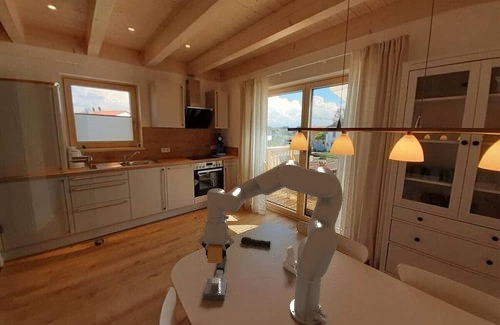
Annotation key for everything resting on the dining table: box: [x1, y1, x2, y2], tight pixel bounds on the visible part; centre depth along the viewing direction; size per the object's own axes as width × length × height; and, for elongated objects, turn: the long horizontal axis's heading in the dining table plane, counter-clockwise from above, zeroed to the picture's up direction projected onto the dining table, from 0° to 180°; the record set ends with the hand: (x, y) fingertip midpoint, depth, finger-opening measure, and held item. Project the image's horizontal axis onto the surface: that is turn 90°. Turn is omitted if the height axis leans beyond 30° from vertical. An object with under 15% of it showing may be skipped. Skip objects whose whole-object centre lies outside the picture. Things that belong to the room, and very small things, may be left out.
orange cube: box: [207, 244, 223, 264], centre depth 92 cm, size 6×6×7 cm
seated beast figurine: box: [282, 245, 297, 276], centre depth 112 cm, size 10×9×12 cm
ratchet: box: [202, 254, 228, 302], centre depth 105 cm, size 29×9×6 cm, turn 179°
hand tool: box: [240, 236, 272, 249], centre depth 134 cm, size 19×4×5 cm, turn 76°
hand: (215, 256), depth 92 cm, fingers closed on orange cube, 6 cm apart
